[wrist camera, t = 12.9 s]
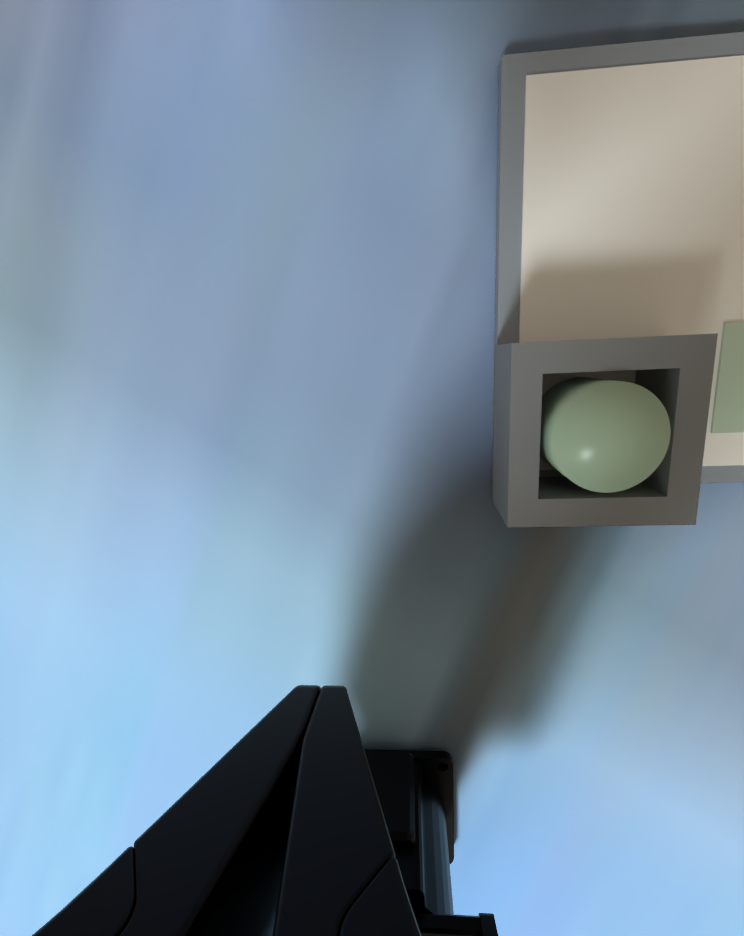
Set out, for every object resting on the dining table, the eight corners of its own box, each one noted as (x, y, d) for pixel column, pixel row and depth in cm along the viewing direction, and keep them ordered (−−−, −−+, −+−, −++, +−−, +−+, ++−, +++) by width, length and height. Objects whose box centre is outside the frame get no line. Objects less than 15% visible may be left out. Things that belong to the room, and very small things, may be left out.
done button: (623, 470, 18) (664, 491, 15) (528, 472, 18) (551, 494, 16) (631, 375, 17) (676, 378, 14) (531, 379, 18) (555, 383, 15)
